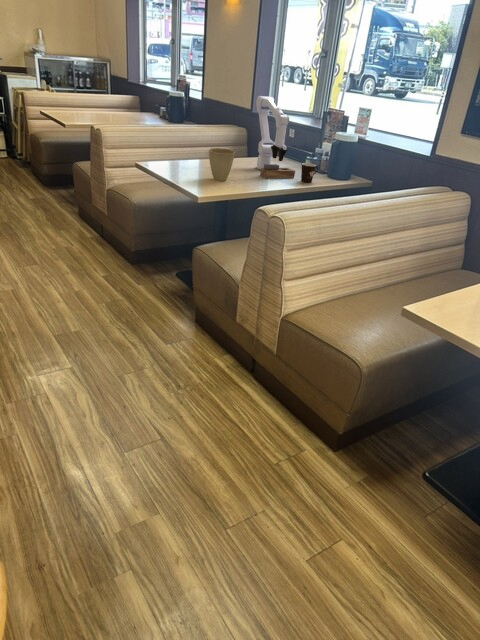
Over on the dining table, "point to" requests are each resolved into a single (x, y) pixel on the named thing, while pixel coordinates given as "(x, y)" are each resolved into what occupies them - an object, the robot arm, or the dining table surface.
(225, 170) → the plant pot
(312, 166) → the coffee mug
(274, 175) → the wooden slotted block
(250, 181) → the dining table surface
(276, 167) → the grey rectangular block
